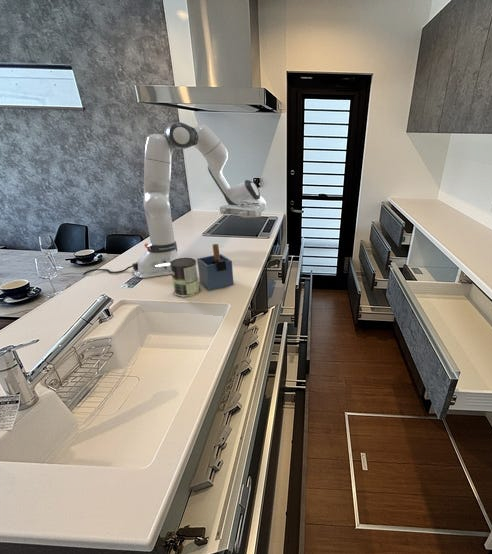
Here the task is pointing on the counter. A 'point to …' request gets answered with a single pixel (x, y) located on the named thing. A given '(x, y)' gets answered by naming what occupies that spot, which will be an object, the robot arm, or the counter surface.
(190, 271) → the coffee can
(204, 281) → the bin
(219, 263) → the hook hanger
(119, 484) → the counter surface
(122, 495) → the counter surface
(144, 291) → the counter surface
